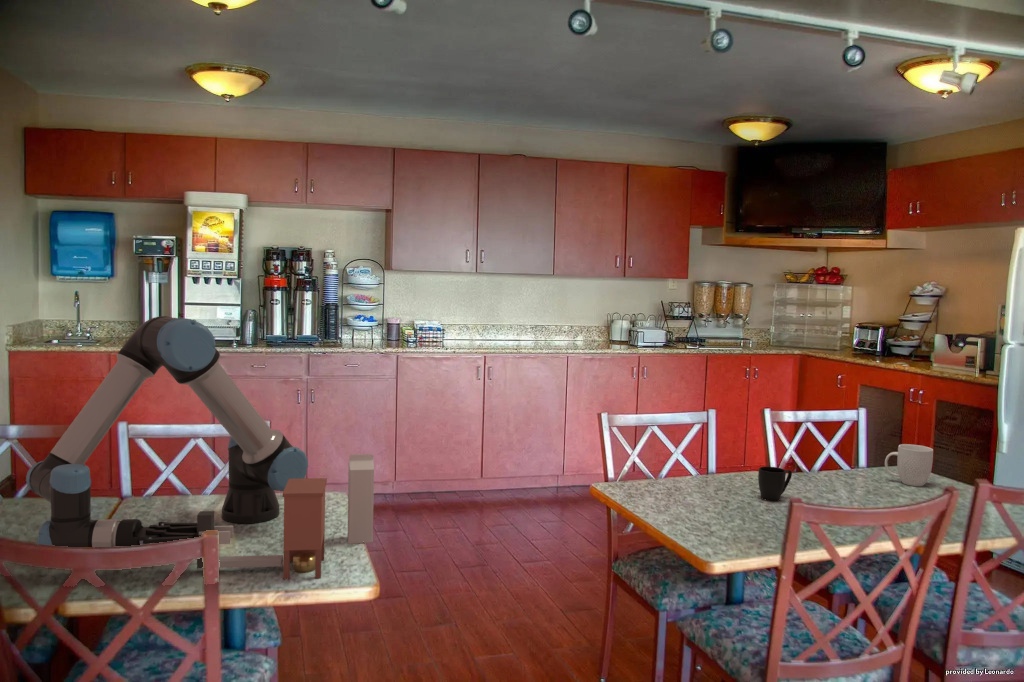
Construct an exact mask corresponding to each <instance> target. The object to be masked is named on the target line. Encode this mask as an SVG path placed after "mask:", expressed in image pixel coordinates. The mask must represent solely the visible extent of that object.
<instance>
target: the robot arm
mask: <svg viewBox="0 0 1024 682" xmlns="http://www.w3.org/2000/svg"><path fill="white" fill-rule="evenodd" d="M116 359H117V361H116V363H115V364H114V365H113V367H112V368H111V370H110V371H109V372H108V373H107V375H106V376H105V377H104V379H103V380H102V382H101V383H100V385H98V387H97V388H96V390H95V391H94V392H93V393H92V395H91V397H90V398H89V399H88V401H86V403H85V404H84V406H83V407H82V409H81V410H80V411H79V413H78V414H77V416H75V418H74V419H73V421H72V422H71V423H70V425H69V426H68V428H67V429H66V430H65V432H64V433H63V434H62V436H61V437H60V439H59V440H58V441H57V442H56V443H55V446H53V448H52V449H51V451H50V452H49V453H47V456H46V457H45V458H44V460H42V461H38V462H36V463H34V464H33V465H32V466H31V467H29V469H28V471H27V473H26V476H25V482H26V484H27V486H28V487H29V489H30V490H31V491H32V492H33V493H34V494H35V495H36V496H38V497H41V498H43V499H44V500H45V501H47V502H49V503H50V519H49V520H46V521H44V522H42V524H41V526H39V529H38V536H37V545H38V544H44V545H55V546H68V547H113V546H131V545H140V544H150V543H159V542H167V541H173V540H179V539H187V538H194V537H199V536H201V535H202V533H203V532H204V531H201V532H199V535H198V534H197V522H167V521H159V522H158V523H157V524H152V525H151V524H150V525H149V526H143V524H142V521H141V520H140V519H138V518H133V519H132V518H130V519H129V518H125V519H121V520H120V519H119V518H115V519H110V518H109V519H91V518H92V517H91V514H92V513H91V507H92V505H91V501H92V499H91V498H92V497H91V495H92V494H91V492H92V491H91V490H92V489H91V485H92V478H91V471H90V468H89V466H88V465H86V464H85V463H86V462H87V461H88V460H89V458H90V457H91V455H92V454H93V453H94V451H95V450H96V449H97V447H98V446H99V444H100V443H101V441H102V440H103V439H104V437H105V436H106V435H107V433H108V432H109V431H110V429H111V428H112V426H113V425H114V424H115V422H116V421H117V420H118V418H119V417H120V415H121V414H122V412H123V411H124V410H125V409H126V407H127V406H128V404H129V403H130V401H131V400H132V399H133V397H134V396H135V395H136V393H137V392H138V390H139V389H140V388H141V386H142V385H143V383H144V382H146V379H149V378H153V377H155V375H156V373H157V372H158V371H159V369H161V368H162V367H164V368H165V370H167V372H168V373H169V374H170V375H171V376H172V378H174V380H175V381H176V382H177V383H178V384H179V385H186V386H187V385H188V387H189V388H191V390H192V391H193V393H194V394H195V395H196V396H197V397H198V398H199V400H200V401H201V402H202V403H203V405H205V407H206V408H207V409H208V410H209V411H210V412H211V414H212V415H213V416H214V418H215V419H216V420H217V421H218V423H219V424H220V425H221V426H222V427H223V429H224V430H225V431H226V432H227V433H228V434H229V435H230V437H229V440H228V447H227V450H228V490H227V492H226V495H225V499H224V501H223V505H222V508H221V519H222V520H224V521H225V522H228V523H234V524H255V523H263V522H267V521H271V520H274V519H275V518H277V517H279V515H280V503H279V501H278V497H277V495H276V491H279V492H283V491H284V489H285V487H286V484H287V482H288V480H289V479H301V478H306V475H307V472H308V468H309V460H308V456H307V455H306V453H305V452H304V451H303V450H302V449H300V448H299V447H297V446H294V445H292V444H291V442H290V441H289V440H288V439H287V437H286V436H285V435H284V434H283V433H282V431H280V430H278V429H271V427H270V426H269V425H268V423H267V422H266V421H265V419H264V418H263V416H261V414H259V412H258V411H257V409H256V408H255V407H254V406H253V404H252V403H251V402H250V401H249V399H248V398H247V397H246V395H245V394H244V392H242V390H241V389H240V388H239V387H238V385H237V384H236V382H234V380H233V378H231V377H230V375H229V374H228V373H227V371H226V370H225V369H224V368H223V365H221V364H220V360H221V353H220V352H219V351H218V349H217V347H216V340H215V337H214V334H213V333H212V331H211V330H210V329H209V328H208V327H207V326H205V325H204V324H203V323H200V322H199V321H196V320H194V319H191V318H186V317H185V318H184V317H182V318H179V317H172V316H167V315H166V316H165V315H164V316H162V315H161V316H155V317H151V318H149V319H147V320H145V322H143V323H142V324H141V325H139V326H138V328H137V329H135V331H134V332H132V334H131V336H130V337H128V339H127V341H126V342H125V343H124V344H123V345H122V347H121V349H120V350H119V351H118V353H117V354H116ZM214 530H218V531H219V544H218V545H230V544H231V539H234V525H214Z"/></svg>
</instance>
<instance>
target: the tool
mask: <svg viewBox="0 0 1024 682" xmlns="http://www.w3.org/2000/svg"><path fill="white" fill-rule="evenodd" d="M196 523H197V534H198V535H199V532H201V531H206V530H214V526H215V510H208V511H206V510H204V511H203V510H202V511H200V510H199V512H198V513H197V515H196ZM218 557H219V560H220V561H219V562H220V568H219V569H225V568H226V569H229V568H234V569H235V568H236V569H237V568H264V567H265V568H266V567H267V568H268V567H269V568H270V567H272V568H273V567H283V558H284V554H277V555H276V554H274V555H232V556H231V555H228V556H226V555H225V556H218ZM202 567H203V562H202V558H200V559H197V558H196V569H197V570H198V569H203V568H202Z"/></svg>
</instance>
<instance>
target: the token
mask: <svg viewBox="0 0 1024 682" xmlns="http://www.w3.org/2000/svg"><path fill="white" fill-rule="evenodd" d="M292 567H293V568H292V570H293V572H295V573H298V574H307V573H311V572H315V554H313V553H299V554H296V555H294V556H293V561H292Z"/></svg>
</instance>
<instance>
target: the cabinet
mask: <svg viewBox="0 0 1024 682" xmlns="http://www.w3.org/2000/svg"><path fill="white" fill-rule="evenodd" d="M327 479H328V478H327V477H323V478H318V477H315V478H314V477H313V478H306V477H305V478H301V479H289V480H288V482H287V484H286V487H285V489H284V491H282V496H281V497H282V498H283V563H282V567H283V570H282V571H283V575H282V576H283V577H282V579H283V580H289V579H290V573H291V572H290V570H291V569H290V565H291V563H290V562H293V556H294V555H296V554H299V553H313V554H315V570H314V578H315V579H321V578H322V561H325V542H326V541H325V535H326V534H325V532H326V529H325V527H326V524H325V523H326V521H325V520H326V486H327V482H328V481H327Z"/></svg>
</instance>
